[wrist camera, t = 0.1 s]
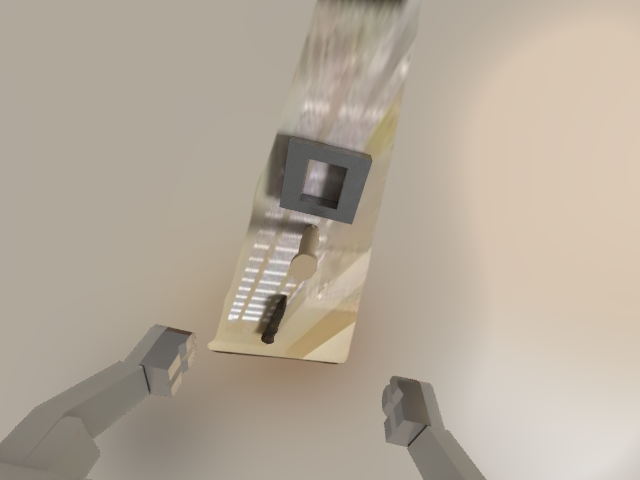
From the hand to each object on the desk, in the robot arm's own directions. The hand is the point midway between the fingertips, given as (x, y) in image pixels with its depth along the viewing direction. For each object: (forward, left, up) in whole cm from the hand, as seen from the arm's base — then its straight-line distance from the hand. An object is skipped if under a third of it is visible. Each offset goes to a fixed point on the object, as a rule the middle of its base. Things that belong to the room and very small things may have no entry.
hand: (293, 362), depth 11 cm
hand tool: (+53, -6, -48) cm, 72 cm away
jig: (+8, -1, -48) cm, 49 cm away
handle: (+21, -1, -48) cm, 53 cm away
